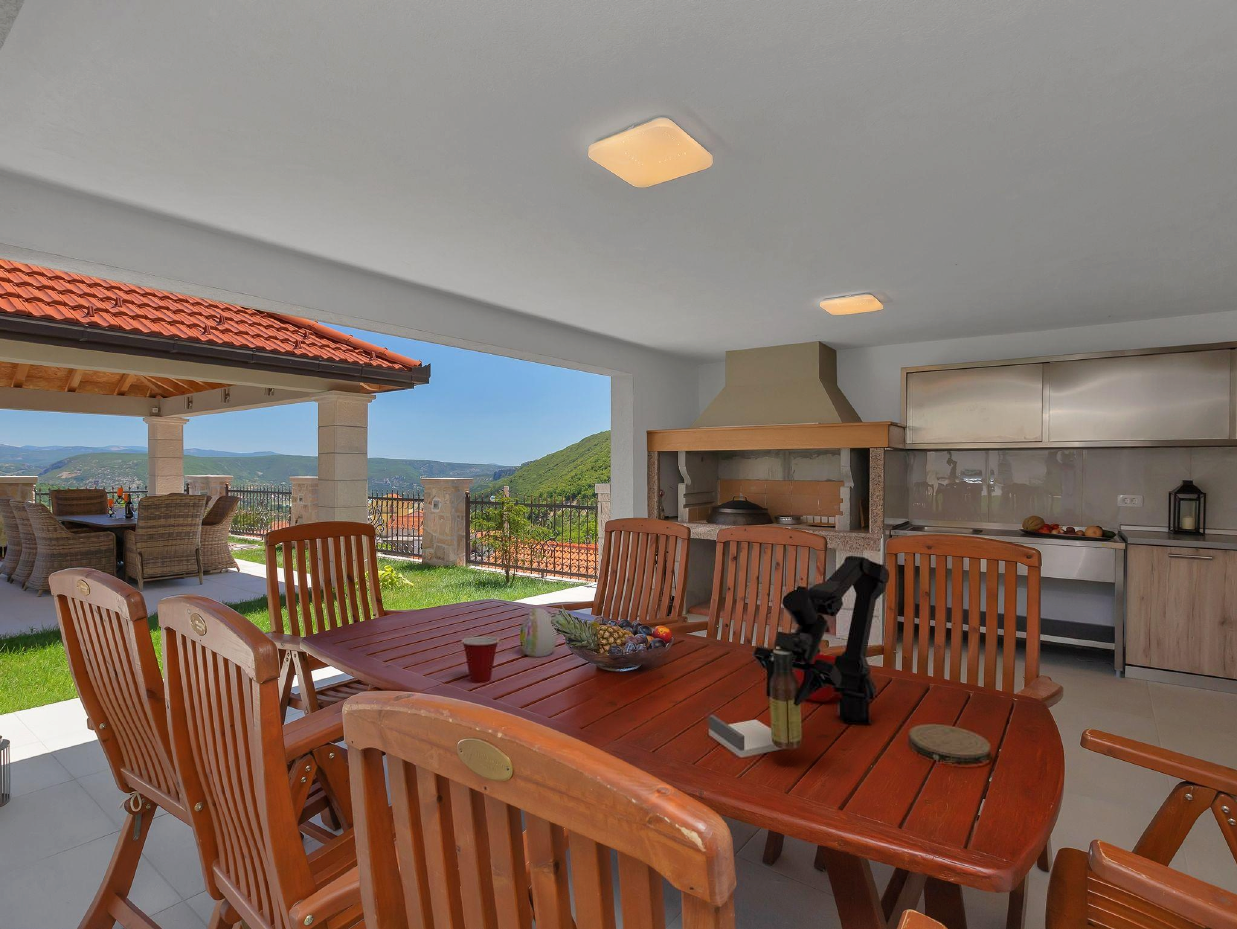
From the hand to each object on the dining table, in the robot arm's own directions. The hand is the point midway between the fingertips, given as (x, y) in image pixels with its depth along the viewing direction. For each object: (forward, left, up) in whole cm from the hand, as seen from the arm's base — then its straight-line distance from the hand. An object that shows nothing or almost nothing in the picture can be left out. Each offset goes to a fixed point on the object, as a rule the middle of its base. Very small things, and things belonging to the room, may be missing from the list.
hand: (781, 700), depth 136 cm
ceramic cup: (-15, -41, -13) cm, 46 cm away
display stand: (+6, -10, -13) cm, 18 cm away
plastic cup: (+82, -40, -13) cm, 93 cm away
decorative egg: (+73, -68, -13) cm, 101 cm away
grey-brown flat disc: (-37, -12, -14) cm, 41 cm away
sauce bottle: (-1, -1, -10) cm, 10 cm away
